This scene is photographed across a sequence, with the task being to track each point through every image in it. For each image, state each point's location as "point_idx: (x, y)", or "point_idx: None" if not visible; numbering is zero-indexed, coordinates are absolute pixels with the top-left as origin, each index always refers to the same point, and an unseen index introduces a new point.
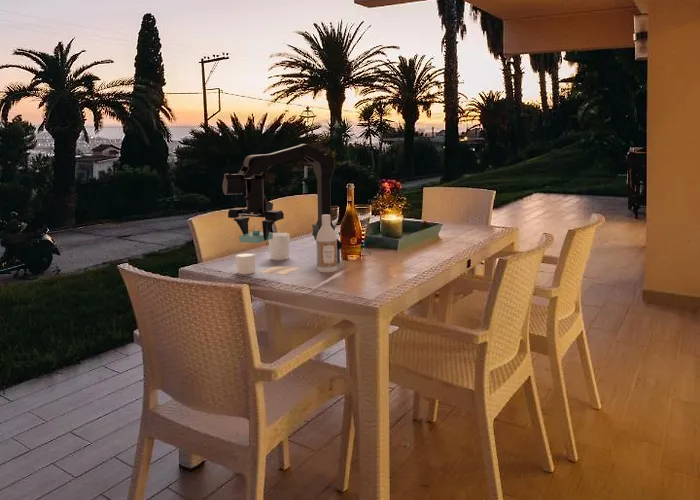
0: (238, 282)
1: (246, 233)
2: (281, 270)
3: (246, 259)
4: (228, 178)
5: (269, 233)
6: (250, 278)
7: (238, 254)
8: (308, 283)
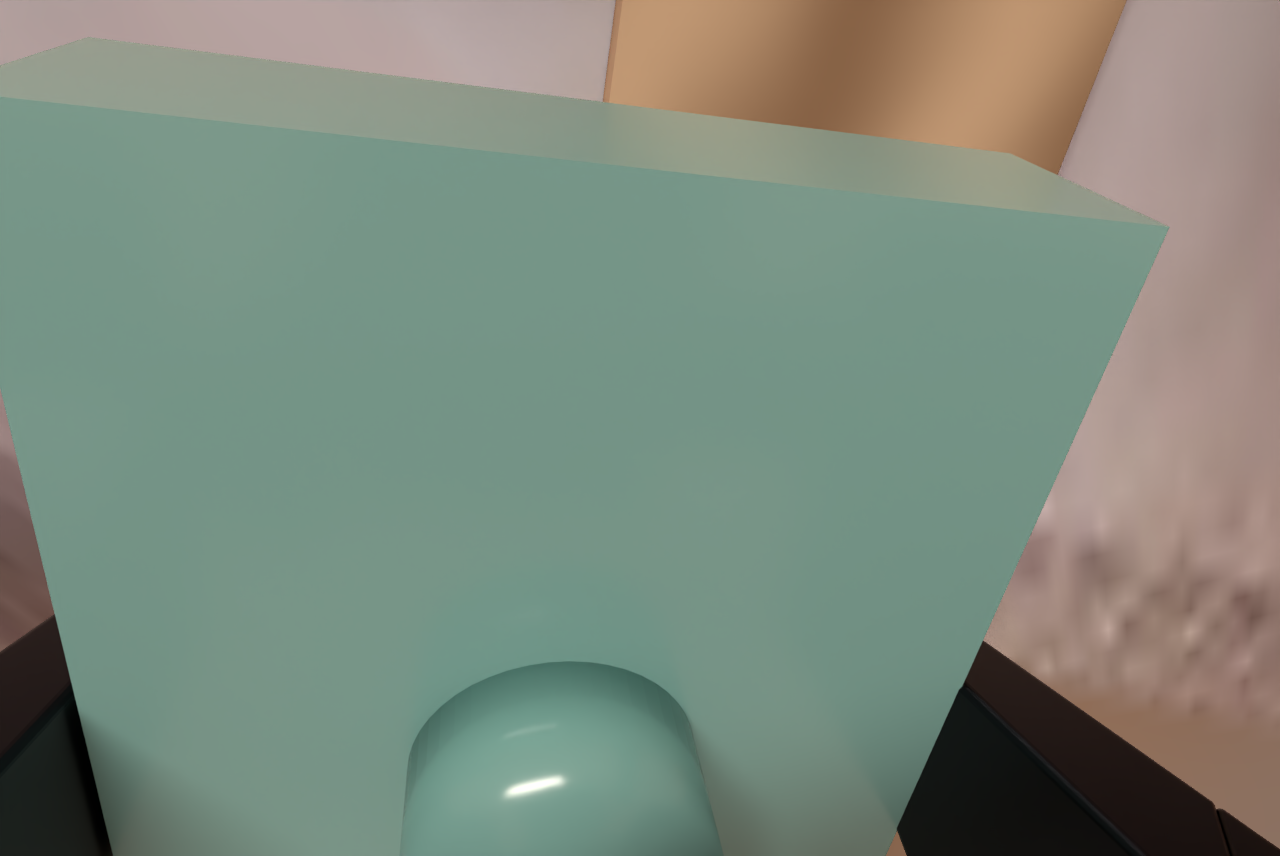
0: None
1: (87, 823)
2: (883, 93)
3: None
4: None
5: (1037, 456)
6: None
7: None
8: (1246, 463)
